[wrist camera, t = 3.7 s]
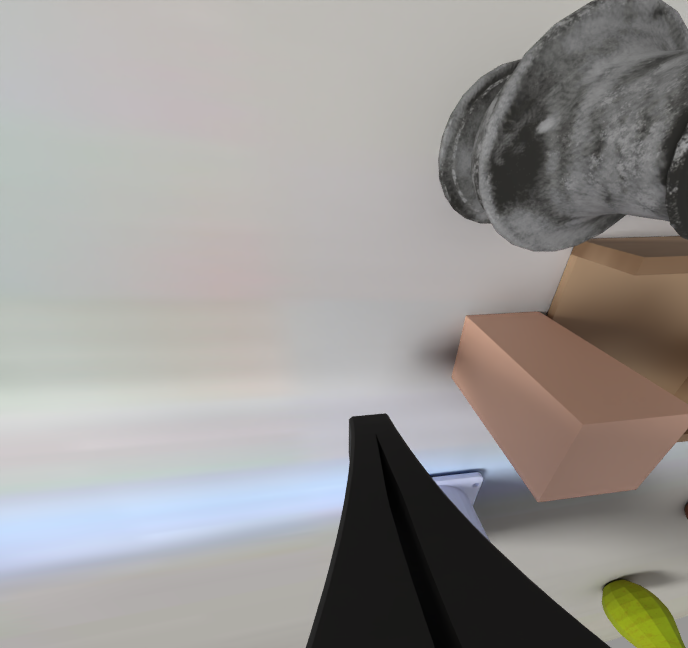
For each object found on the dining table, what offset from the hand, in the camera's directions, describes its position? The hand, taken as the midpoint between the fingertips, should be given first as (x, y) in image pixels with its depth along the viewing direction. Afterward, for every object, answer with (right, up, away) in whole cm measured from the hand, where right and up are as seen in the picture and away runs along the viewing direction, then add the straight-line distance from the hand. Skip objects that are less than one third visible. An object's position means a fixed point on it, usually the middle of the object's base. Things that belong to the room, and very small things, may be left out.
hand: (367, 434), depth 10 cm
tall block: (+7, +3, +5) cm, 9 cm away
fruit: (+35, -30, +28) cm, 54 cm away
